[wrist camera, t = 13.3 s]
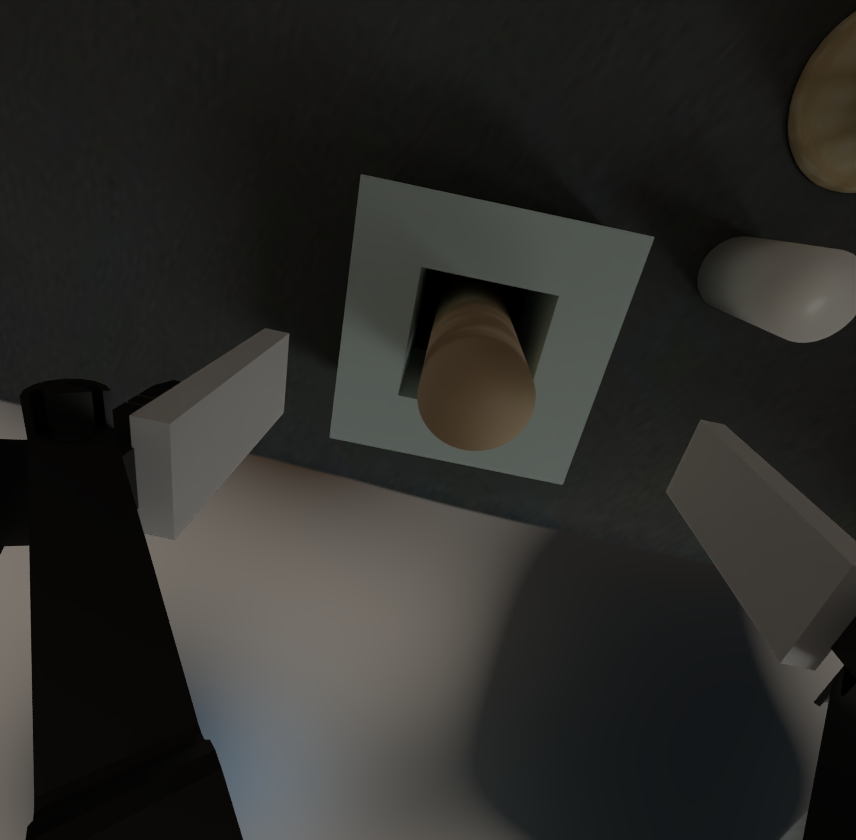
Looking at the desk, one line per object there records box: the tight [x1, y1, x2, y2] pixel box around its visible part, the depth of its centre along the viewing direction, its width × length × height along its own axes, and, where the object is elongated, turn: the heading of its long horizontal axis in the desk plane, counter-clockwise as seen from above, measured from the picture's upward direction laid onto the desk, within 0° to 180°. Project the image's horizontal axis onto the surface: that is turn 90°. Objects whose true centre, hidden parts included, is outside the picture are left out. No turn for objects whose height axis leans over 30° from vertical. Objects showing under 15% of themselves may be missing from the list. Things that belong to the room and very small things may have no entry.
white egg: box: [697, 236, 856, 343], centre depth 24 cm, size 4×4×7 cm
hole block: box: [330, 174, 655, 485], centre depth 25 cm, size 12×12×8 cm
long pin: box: [417, 276, 536, 451], centre depth 23 cm, size 4×4×14 cm
